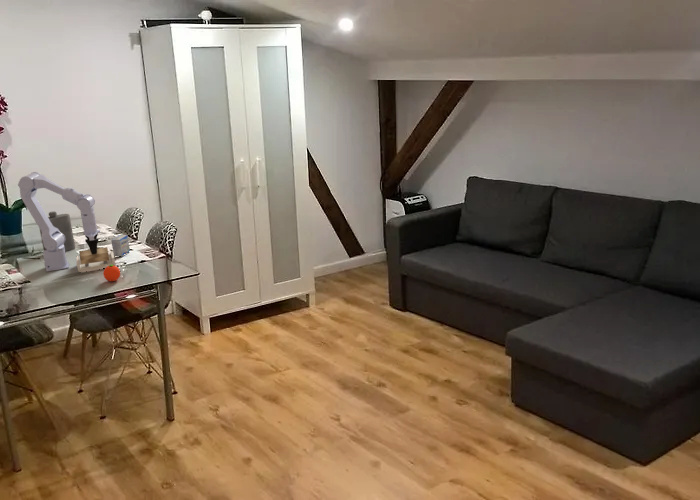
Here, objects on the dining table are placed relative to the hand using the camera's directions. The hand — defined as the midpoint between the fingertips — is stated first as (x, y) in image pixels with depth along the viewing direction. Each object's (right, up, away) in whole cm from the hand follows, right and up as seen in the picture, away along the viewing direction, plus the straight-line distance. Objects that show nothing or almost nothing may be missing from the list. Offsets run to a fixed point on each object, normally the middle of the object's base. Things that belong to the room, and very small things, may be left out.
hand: (94, 251), depth 316 cm
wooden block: (0, -4, +1) cm, 4 cm away
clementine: (+14, -13, -16) cm, 25 cm away
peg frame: (0, -7, +2) cm, 7 cm away
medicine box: (+7, -2, +17) cm, 19 cm away
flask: (-26, 0, +26) cm, 37 cm away
